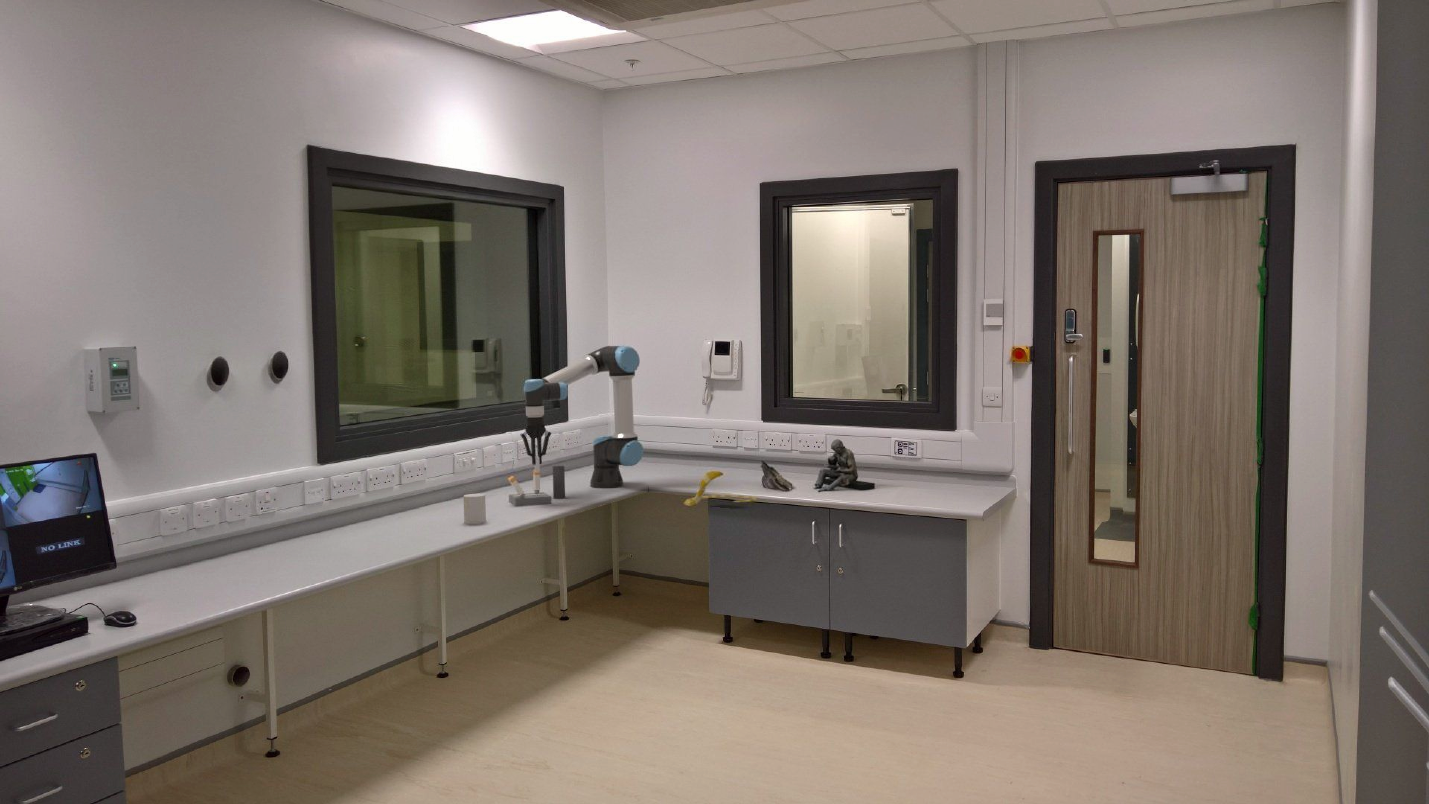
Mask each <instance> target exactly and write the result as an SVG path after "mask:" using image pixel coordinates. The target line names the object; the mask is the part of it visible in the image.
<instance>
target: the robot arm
mask: <svg viewBox="0 0 1429 804" xmlns="http://www.w3.org/2000/svg"><path fill="white" fill-rule="evenodd" d="M639 367H640V356H639V354H638V351H637V350H635V348H633V347H632V346H628V345H607V346H603V347H601V348H599V349H596V350H594V351H592V352H590V353H588V354H586V355H584V356H583V359H581V360H578V361H576V362H574V363H572V364H570V365H567V366H565V367H563V368H561V369H560V370H559V369H558V370H557V371H556V372H553V373H551V374H548V375H547V376H545V377H542V378H541V379H540V378H536V379H535V378H532V379H530V378H529V379H526V380H525V382H524V386H523V395H524V397H525V398H524V399H525V400H524V401H525V416H526V417H525V425H526V426H525V427H526V428H525V430H524V431H523V432H522V433H520V437H521V439H522V440H523V443H524V444H523V445H524V447H525V450H526V455H527V456H529V457H531V464H532V465H533V466H534V470H535V472H536V473H539V472H540V473H541V470H540V469H541V467H540V466H541V465H543V463H542V462H543V456H545V455H547V451H548V447H549V446H548V445H549V439H550V437H551V435H552V432H551V431H548V430H547V429H546V426H545V417H544V415H545V405H544V404H545V402H549V401H550V402H552V401H561V400H565V399H567V397H568V395H569V387H568V385H571V384H573V383H575V382H577V381H579V380H581V379H583V378H585V377H587V376H590V375H593V376H594V375H597V374H598V373H603V372H608V376H609V378H610V379H611V380H612V391H613V392H612V393H613V394H612V395H613V414H614V416H613V418H614V433H613V435H608V436H606V435H605V436H596V437H595V438H594V439H593V443H592V450H593V470H592V474H591V478H590V481H589V483H590V485H589V486H590V487H592V488H598V489H599V488H601V489H602V488H603V489H605V488H606V489H608V488H619V487H623V486H624V480H623V477H622V473H621V471H620V466H624V467H634V466H636V465H637V464H639V463H640V461H641V460H642V458H643V455H644V447H643V444H641V442H640V441H639V440H638V439H639V438H638V434H636V432H635V425H634V402H633V378H634V377H635V376H636V371H637V370H638V368H639ZM527 436H528V437H529V438H530V445H529V441H528V437H527ZM543 436H544V440H543V445H542V437H543ZM536 447H537V449H536ZM536 450H537V453H536ZM536 455H537V456H536ZM622 485H623V486H622Z"/></svg>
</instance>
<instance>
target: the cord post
mask: <svg viewBox="0 0 1429 804" xmlns="http://www.w3.org/2000/svg"><path fill="white" fill-rule="evenodd" d="M552 487H553V489H552V490H553V491H552V492H553V493H552V495H553V496H552V497H553V500H564V499H566V479H565V465H554V466H553V465H552ZM563 498H564V499H563Z"/></svg>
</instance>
